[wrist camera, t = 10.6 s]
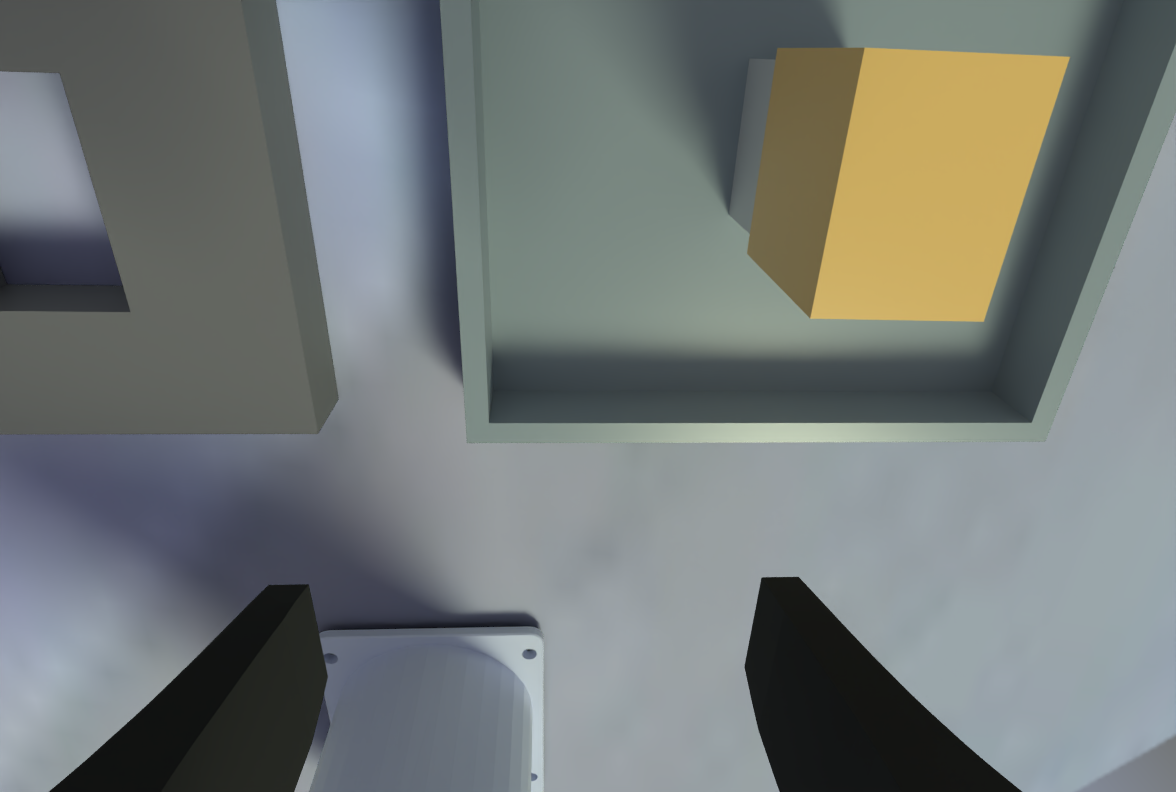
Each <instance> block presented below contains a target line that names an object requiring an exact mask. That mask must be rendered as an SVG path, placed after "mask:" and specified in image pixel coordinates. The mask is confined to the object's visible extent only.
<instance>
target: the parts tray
mask: <svg viewBox="0 0 1176 792" xmlns="http://www.w3.org/2000/svg"><path fill="white" fill-rule="evenodd" d="M440 13H441V30H442V46H443V62H444V78H445V95H446V111H447V127H448V144H449V160H450V176H451V192H452V209H453V225H454V241H455V257H456V274H457V290H458V306H459V322H460V339H461V355H462V371H463V388H464V404H465V420H466V436H467V443H690V442H1045V441H1046V438H1047V436H1048V433H1049V431H1050V428H1051V426H1052V423H1053V421H1054V418H1055V415H1056V413H1057V410H1058V408H1059V405H1060V403H1061V400H1062V398H1063V395H1064V393H1065V390H1066V388H1067V385H1068V383H1069V380H1070V378H1071V375H1072V373H1073V370H1074V367H1075V365H1076V362H1077V360H1078V357H1079V355H1080V352H1081V350H1082V347H1083V345H1084V342H1085V340H1086V337H1087V335H1088V332H1089V330H1090V327H1091V325H1092V322H1093V320H1094V317H1095V314H1096V312H1097V309H1098V307H1099V304H1100V302H1101V299H1102V297H1103V294H1104V292H1105V289H1106V287H1107V284H1108V282H1109V279H1110V277H1111V274H1112V272H1113V269H1114V266H1115V264H1116V261H1117V259H1118V256H1119V254H1120V251H1121V249H1122V246H1123V244H1124V241H1125V239H1126V236H1127V234H1128V231H1129V229H1130V226H1131V224H1132V221H1133V219H1134V216H1135V213H1136V211H1137V208H1138V206H1139V203H1140V201H1141V198H1142V196H1143V193H1144V191H1145V188H1146V186H1147V183H1148V181H1149V178H1150V176H1151V173H1152V171H1153V168H1154V165H1155V163H1156V160H1157V158H1158V155H1159V153H1160V150H1161V148H1162V145H1163V143H1164V140H1165V138H1166V135H1167V133H1168V130H1169V128H1170V125H1171V123H1172V120H1173V118H1174V115H1175V112H1176V0H440ZM777 48H886V49H908V50H930V51H952V52H975V53H997V54H1019V55H1042V56H1064V57H1070V59H1069V62H1068V65H1067V68H1066V71H1065V74H1064V77H1063V80H1062V83H1061V86H1060V89H1059V92H1058V95H1057V99H1056V102H1055V105H1054V108H1053V111H1052V114H1051V117H1050V120H1049V123H1048V126H1047V129H1046V132H1045V135H1044V138H1043V141H1042V144H1041V148H1040V151H1039V154H1038V157H1037V160H1036V163H1035V166H1034V169H1033V172H1032V175H1031V178H1030V181H1029V184H1028V187H1027V190H1026V193H1025V197H1024V200H1023V203H1022V206H1021V209H1020V212H1019V215H1018V218H1017V221H1016V224H1015V227H1014V230H1013V233H1012V236H1011V239H1010V242H1009V246H1008V249H1007V252H1006V255H1005V258H1004V261H1003V264H1002V267H1001V270H1000V273H999V276H998V279H997V282H996V285H995V288H994V291H993V295H992V298H991V301H990V304H989V307H988V310H987V313H986V316H985V319H984V322H970V321H913V320H856V319H810V318H809V317H808V316H807V315H806V314H805V313H804V312H803V311H802V310H801V309H800V308H799V307H798V306H797V305H796V304H795V303H794V302H793V300H792V299H791V298H790V297H789V296H788V295H787V294H786V293H785V292H784V291H783V290H782V289H781V288H780V287H779V286H778V285H777V284H776V283H775V282H774V281H773V280H772V279H771V278H770V277H769V276H768V275H767V274H766V273H765V272H764V271H763V270H762V269H761V268H760V267H759V266H758V265H757V264H756V263H755V262H754V261H753V260H752V258H751V257H750V256H749V255H748V254H747V249H748V242H749V236H750V234H749V233H748V232H747V231H746V230H745V229H744V228H743V227H741V226H740V225H739V224H738V223H737V222H736V221H735V220H734V219H733V218H732V217H731V216H729V209H730V201H731V194H732V186H733V179H734V171H735V163H736V156H737V148H738V141H739V133H740V126H741V118H742V111H743V103H744V95H745V88H746V80H747V73H748V65H749V58H751V59H774V60H776V54H777Z"/></svg>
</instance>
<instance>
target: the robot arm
mask: <svg viewBox="0 0 1176 792" xmlns="http://www.w3.org/2000/svg"><path fill="white" fill-rule="evenodd" d="M526 649H533V650H531V651H528V650H526ZM329 653H331V654H334V655H331V654H329ZM745 671H746V676H747V681H748V685H749V690H750V695H751V700H752V704H753V708H754V712H755V717H756V721H757V725H758V730H759V733H760V736H761V739H762V742H763V745H764V748H765V751H766V753H767V756H768V759H769V762H770V765H771V768H772V771H773V774H774V777H775V780H776V783H777V786H778V788H779V791H780V792H1022V791H1021V790H1019V789H1018V788H1017V787H1016V786H1014V785H1013V784H1012V783H1011V782H1010V781H1008V780H1007V779H1006V778H1005V777H1003V776H1002V775H1001V774H1000V773H999V772H997V771H996V770H995V769H994V768H992V767H991V766H990V765H989V764H988V763H986V762H985V761H984V760H983V759H982V758H980V757H979V756H978V755H977V754H976V753H975V752H974V751H972V750H971V749H970V748H969V747H968V746H967V745H965V744H964V743H963V742H962V741H961V740H960V739H959V738H958V737H957V736H955V735H954V734H953V733H952V732H951V731H950V730H949V729H948V728H947V727H946V726H945V725H943V724H942V723H941V722H940V721H939V720H938V719H937V718H936V717H935V716H934V715H932V714H931V713H930V712H929V711H928V710H927V709H926V708H925V707H924V706H923V705H922V704H921V703H920V702H919V701H918V700H916V699H915V698H914V697H913V696H912V695H911V694H910V693H909V692H908V691H907V690H906V689H905V688H904V687H903V686H902V685H901V684H900V683H899V682H898V681H897V680H896V679H895V678H894V677H893V676H892V675H891V674H890V673H889V672H888V671H887V670H886V669H885V668H884V667H883V666H882V665H881V664H880V663H879V662H878V661H877V660H876V659H875V658H874V657H873V656H872V655H871V654H870V652H869V651H868V650H867V649H866V648H865V647H864V646H863V645H862V644H861V643H860V642H859V641H858V640H857V639H856V638H855V637H854V636H853V635H852V634H851V633H850V631H849V630H848V629H847V628H846V627H845V626H844V625H843V624H842V623H841V622H840V621H839V620H838V619H837V618H836V617H835V615H834V614H833V613H832V612H831V611H830V610H829V609H828V608H827V607H826V606H825V605H824V604H823V603H822V601H821V600H820V599H819V598H818V597H817V596H816V595H815V594H814V593H813V592H812V591H811V590H810V589H809V588H808V587H807V585H806V584H805V583H804V582H803V581H802V580H801V579H800V578H799V577H764V578H762V579H761V584H760V589H759V594H758V599H757V605H756V610H755V615H754V620H753V625H752V631H751V636H750V641H749V646H748V651H747V657H746V662H745ZM323 696H325V701H326V706H327V710H328V715H329V719H330V724H331V725H330V728H329V731H328V734H327V737H326V741H325V744H324V747H323V750H322V753H321V756H320V759H319V762H318V766H317V769H316V772H315V775H314V778H313V781H312V784H311V787H310V790H309V792H543V791H544V753H543V633H542V632H541V631H540V629H538V628H536V627H530V626H524V627H472V628H420V629H369V630H328V631H323V632H321V633H319V631H318V626H317V622H316V617H315V612H314V607H313V603H312V598H311V593H310V588H309V584H306V585H268V586H267V587H266V588H265V589H264V590H263V591H262V592H261V593H260V594H259V595H258V596H257V597H256V598H255V599H254V600H253V601H252V602H251V603H250V604H249V605H248V606H247V607H246V608H245V609H244V610H243V611H242V612H241V613H240V614H239V615H238V616H237V617H236V618H235V619H234V620H233V621H232V622H231V623H230V624H229V625H228V626H227V627H226V628H225V629H224V630H223V631H222V632H221V633H220V634H219V635H218V636H217V637H216V638H215V639H214V640H213V641H212V642H211V643H210V644H209V645H208V646H207V647H206V648H205V649H204V650H203V651H202V652H201V653H200V654H199V655H198V656H197V657H196V658H195V659H194V660H193V661H192V662H191V663H190V664H189V665H188V666H187V667H186V668H185V669H184V670H183V671H182V672H181V673H180V674H179V675H178V676H177V677H176V678H175V679H174V680H173V681H172V682H171V683H169V684H168V685H167V686H166V687H165V688H164V689H163V690H162V691H161V692H160V693H159V694H158V695H157V696H156V697H155V698H154V699H153V700H152V701H151V702H150V703H149V704H148V705H147V706H146V707H144V708H143V709H142V710H141V711H140V712H139V713H138V714H137V715H136V716H135V717H134V718H132V719H131V720H130V721H129V722H128V723H127V724H126V725H125V726H124V727H122V728H121V729H120V730H119V731H118V732H117V733H116V734H115V735H114V736H112V737H111V738H110V739H109V740H108V741H107V742H106V743H105V744H104V745H102V746H101V747H100V748H99V749H98V750H97V751H96V752H95V753H94V754H92V755H91V756H90V757H89V758H88V759H87V760H86V761H85V762H83V763H82V764H81V765H80V766H79V767H78V768H76V769H75V770H74V771H73V772H72V773H71V774H69V775H68V776H67V777H66V778H65V779H64V780H62V781H61V782H60V783H59V784H58V785H56V786H55V787H54V788H53V789H52V790H50V791H49V792H294V790H295V788H296V785H297V782H298V780H299V777H300V774H301V771H302V769H303V766H304V763H305V760H306V758H307V755H308V752H309V749H310V746H311V744H312V740H313V736H314V732H315V728H316V725H317V721H318V717H319V713H320V709H321V705H322V700H323Z"/></svg>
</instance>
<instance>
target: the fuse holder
mask: <svg viewBox="0 0 1176 792" xmlns="http://www.w3.org/2000/svg"><path fill="white" fill-rule="evenodd" d="M0 71H9V72H43V73H60V76H61V79H62V82H63V86H64V89H65V92H66V96H67V99H68V102H69V106H70V109H71V113H72V116H73V119H74V123H75V126H76V129H77V133H78V136H79V139H80V143H81V146H82V150H83V153H84V156H85V160H86V163H87V166H88V170H89V173H90V177H91V180H92V183H93V187H94V190H95V193H96V197H97V200H98V203H99V207H100V210H101V214H102V217H103V220H104V224H105V227H106V230H107V234H108V237H109V241H110V244H111V247H112V251H113V254H114V257H115V261H116V264H117V267H118V271H119V274H120V278H121V281H122V284H123V286H104V285H14V284H6V281H5V278H4V276H3V273H2V271H1V268H0V434H318V433H319V431H320V430H321V428H322V426H323V425H324V423H325V421H326V420H327V418H328V416H329V415H330V413H331V411H332V410H333V408H334V406H335V404H336V403H337V401H338V392H337V386H336V380H335V373H334V367H333V360H332V354H331V348H330V341H329V335H328V329H327V322H326V316H325V310H324V303H323V297H322V291H321V284H320V278H319V272H318V265H317V259H316V253H315V246H314V240H313V234H312V227H311V221H310V215H309V208H308V202H307V196H306V189H305V183H304V177H303V170H302V164H301V157H300V151H299V145H298V138H297V132H296V126H295V119H294V113H293V107H292V100H291V94H290V88H289V81H288V75H287V69H286V62H285V56H284V50H283V43H282V37H281V31H280V24H279V18H278V12H277V5H276V0H0Z"/></svg>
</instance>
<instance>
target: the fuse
mask: <svg viewBox="0 0 1176 792" xmlns="http://www.w3.org/2000/svg"><path fill="white" fill-rule="evenodd" d="M1069 59H1070V57H1064V56H1042V55H1019V54H997V53H975V52H952V51H930V50H908V49H886V48H777V54H776V60H774V59H751V58H749V65H748V73H747V80H746V88H745V95H744V103H743V111H742V118H741V126H740V133H739V141H738V148H737V156H736V163H735V171H734V179H733V186H732V194H731V201H730V209H729V216H731V217H732V218H733V219H734V220H735V221H736V222H737V223H738V224H739V225H740V226H741V227H743V228H744V229H745V230H746V231H747V232H748V233H749V234H750V236H749V242H748V249H747V254H748V255H749V256H750V257H751V258H752V260H753V261H754V262H755V263H756V264H757V265H758V266H759V267H760V268H761V269H762V270H763V271H764V272H765V273H766V274H767V275H768V276H769V277H770V278H771V279H772V280H773V281H774V282H775V283H776V284H777V285H778V286H779V287H780V288H781V289H782V290H783V291H784V292H785V293H786V294H787V295H788V296H789V297H790V298H791V299H792V300H793V302H794V303H795V304H796V305H797V306H798V307H799V308H800V309H801V310H802V311H803V312H804V313H805V314H806V315H807V316H808V317H809V318H810V319H856V320H913V321H970V322H984V319H985V316H986V313H987V310H988V307H989V304H990V301H991V298H992V295H993V291H994V288H995V285H996V282H997V279H998V276H999V273H1000V270H1001V267H1002V264H1003V261H1004V258H1005V255H1006V252H1007V249H1008V246H1009V242H1010V239H1011V236H1012V233H1013V230H1014V227H1015V224H1016V221H1017V218H1018V215H1019V212H1020V209H1021V206H1022V203H1023V200H1024V197H1025V193H1026V190H1027V187H1028V184H1029V181H1030V178H1031V175H1032V172H1033V169H1034V166H1035V163H1036V160H1037V157H1038V154H1039V151H1040V148H1041V144H1042V141H1043V138H1044V135H1045V132H1046V129H1047V126H1048V123H1049V120H1050V117H1051V114H1052V111H1053V108H1054V105H1055V102H1056V99H1057V95H1058V92H1059V89H1060V86H1061V83H1062V80H1063V77H1064V74H1065V71H1066V68H1067V65H1068V62H1069Z"/></svg>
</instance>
